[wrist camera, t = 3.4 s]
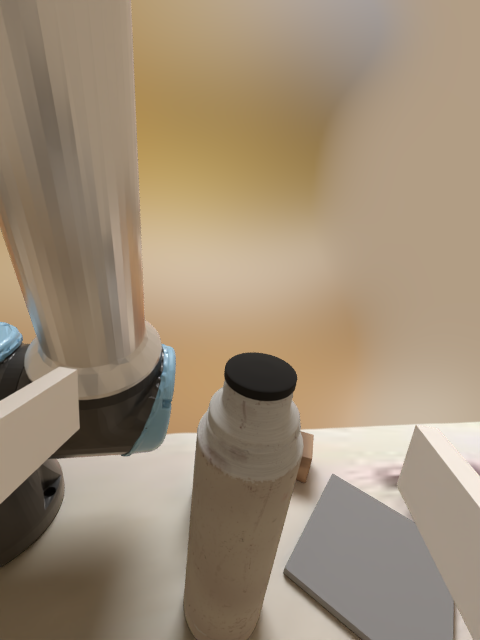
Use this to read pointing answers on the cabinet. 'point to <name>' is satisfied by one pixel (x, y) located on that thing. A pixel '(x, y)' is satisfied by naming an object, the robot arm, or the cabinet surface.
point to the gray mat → (371, 568)
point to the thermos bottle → (240, 495)
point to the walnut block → (305, 457)
